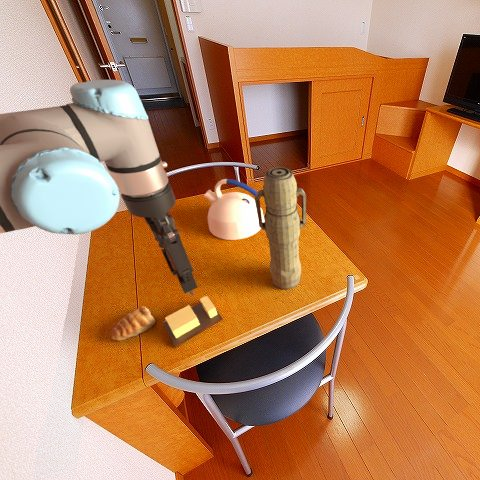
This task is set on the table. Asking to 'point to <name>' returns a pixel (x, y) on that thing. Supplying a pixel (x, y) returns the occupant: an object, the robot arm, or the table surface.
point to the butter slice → (208, 306)
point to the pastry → (133, 324)
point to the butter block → (182, 321)
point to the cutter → (174, 269)
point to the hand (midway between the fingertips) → (183, 278)
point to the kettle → (232, 212)
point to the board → (204, 324)
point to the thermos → (282, 225)
